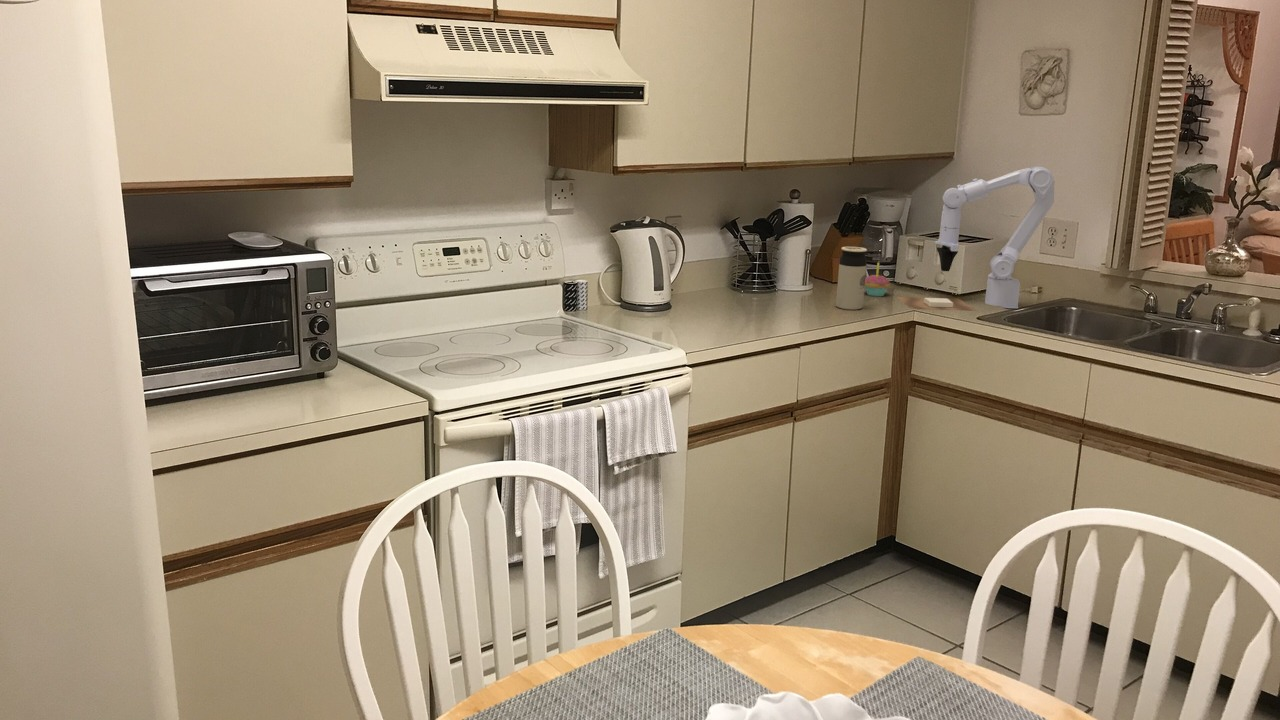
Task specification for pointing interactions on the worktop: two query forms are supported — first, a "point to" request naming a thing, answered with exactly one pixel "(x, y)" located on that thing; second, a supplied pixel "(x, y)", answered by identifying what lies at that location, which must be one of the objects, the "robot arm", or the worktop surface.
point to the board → (919, 304)
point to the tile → (938, 302)
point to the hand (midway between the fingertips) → (945, 270)
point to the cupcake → (876, 284)
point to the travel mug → (851, 278)
